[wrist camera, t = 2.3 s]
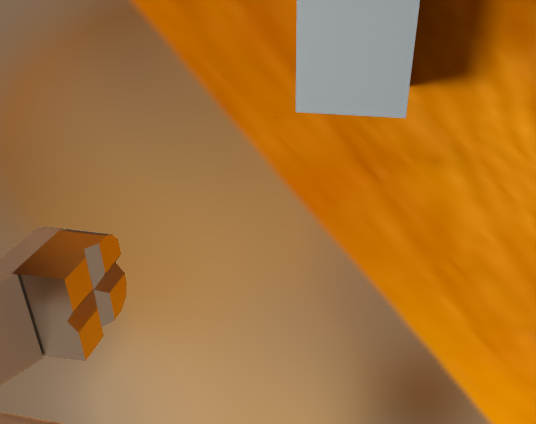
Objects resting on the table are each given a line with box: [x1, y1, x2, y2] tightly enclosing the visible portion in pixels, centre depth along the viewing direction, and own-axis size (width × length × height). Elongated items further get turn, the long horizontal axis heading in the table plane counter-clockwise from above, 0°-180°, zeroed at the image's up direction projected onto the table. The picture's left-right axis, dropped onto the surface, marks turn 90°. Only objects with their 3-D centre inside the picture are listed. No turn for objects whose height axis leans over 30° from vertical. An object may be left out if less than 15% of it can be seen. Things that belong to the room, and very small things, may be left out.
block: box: [296, 0, 420, 118], centre depth 24 cm, size 5×5×5 cm
